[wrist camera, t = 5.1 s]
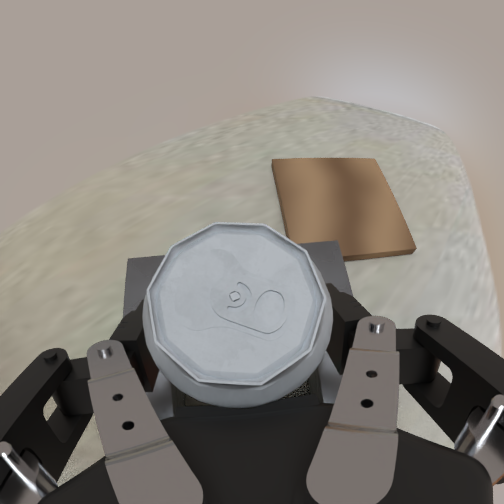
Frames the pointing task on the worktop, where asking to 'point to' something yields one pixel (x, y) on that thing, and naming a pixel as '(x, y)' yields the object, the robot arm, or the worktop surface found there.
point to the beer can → (237, 315)
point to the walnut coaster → (341, 206)
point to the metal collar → (320, 381)
